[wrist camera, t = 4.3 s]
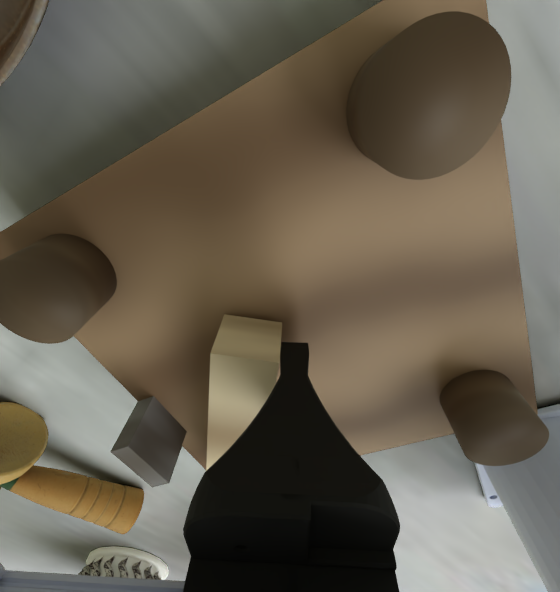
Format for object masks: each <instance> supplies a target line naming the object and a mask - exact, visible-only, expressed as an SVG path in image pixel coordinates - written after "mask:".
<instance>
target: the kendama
mask: <svg viewBox="0 0 560 592" xmlns="http://www.w3.org/2000/svg"><path fill="white" fill-rule="evenodd" d="M47 441H48V429H47V426H46V424H45V422H44V420H43V419H42V417H41V416H40V415H38V414H37V413H35V412H34V411H32V410H30V409H28V408H27V407H25V406H22V405H20V404H18V403H14V402H0V489H1V487H3V488H5V489H7V490H9V491H11V492H13V493H15V494H18V495H20V496H22V497H24V498H26V499H29V500H31V501H33V502H35V503H38V504H40V505H43V506H45V507H48V508H51V509H53V510H56V511H59V512H62V513H66V514H67V513H68V514H69V515H71V516H74V517H77V518H81V519H83V520H85V521H89V522H93V523H94V524H97V525H100V526H104V527H105V528H108V529H110V530H112V531H115V532H117V533H120V534H125V533H127V532H128V531H129V530H130V529H131V527H132V526H133V525H134V523H135V521H136V520H137V517H138V515H139V513H140V511H141V508H142V504H143V500H144V491H143V490H142V489H140V488H135V487H130V486H125V485H124V486H123V485H121V484H117V483H111V482H108V481H104V480H99V479H96V478H92V477H87V476H84V475H80V474H76V473H72V472H68V471H63V470H58V469H53V468H46V467H40V466H33V464H34V463H35V462H36V461H37V460H38V459H39V458H40V456H41V455H42V454H43V452H44V450H45V448H46V446H47Z"/></svg>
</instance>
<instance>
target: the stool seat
mask: <svg viewBox="0 0 560 592" xmlns="http://www.w3.org/2000/svg"><path fill="white" fill-rule="evenodd" d="M510 86H511V65H510V59H509V55H508V52H507V49H506V46H505V44H504V42H503V40H502V38H501V36H500V35H499V34H498V32H497V31H496V30H495V29H494V28H493V27H492V26H491V25H490V24H489V20H488V12H487V4H486V0H383V1H381V2H379V3H378V4H376V5H374V6H373V7H371V8H369V9H368V10H366V11H365V12H363V13H361V14H360V15H358V16H356V17H355V18H353V19H351V20H350V21H348V22H346V23H345V24H343V25H341V26H340V27H338V28H336V29H335V30H333V31H331V32H330V33H328V34H327V35H325V36H323V37H322V38H320V39H318V40H317V41H315V42H313V43H312V44H310V45H308V46H307V47H305V48H303V49H302V50H300V51H298V52H297V53H295V54H294V55H292V56H290V57H289V58H287V59H285V60H284V61H282V62H280V63H279V64H277V65H275V66H274V67H272V68H270V69H269V70H267V71H265V72H264V73H262V74H261V75H259V76H257V77H256V78H254V79H252V80H251V81H249V82H247V83H246V84H244V85H242V86H241V87H239V88H237V89H236V90H234V91H232V92H231V93H229V94H227V95H226V96H224V97H223V98H221V99H219V100H218V101H216V102H214V103H213V104H211V105H209V106H208V107H206V108H204V109H203V110H201V111H199V112H198V113H196V114H194V115H193V116H191V117H190V118H188V119H186V120H185V121H183V122H181V123H180V124H178V125H176V126H175V127H173V128H171V129H170V130H168V131H166V132H165V133H163V134H161V135H160V136H158V137H156V138H155V139H153V140H152V141H150V142H148V143H147V144H145V145H143V146H142V147H140V148H138V149H137V150H135V151H133V152H132V153H130V154H128V155H127V156H125V157H123V158H122V159H120V160H119V161H117V162H115V163H114V164H112V165H110V166H109V167H107V168H105V169H104V170H102V171H100V172H99V173H97V174H95V175H94V176H92V177H90V178H89V179H87V180H86V181H84V182H82V183H81V184H79V185H77V186H76V187H74V188H72V189H71V190H69V191H67V192H66V193H64V194H62V195H61V196H59V197H57V198H56V199H54V200H52V201H51V202H49V203H48V204H46V205H44V206H43V207H41V208H39V209H38V210H36V211H34V212H33V213H31V214H29V215H28V216H26V217H24V218H23V219H21V220H19V221H18V222H16V223H15V224H13V225H11V226H10V227H8V228H6V229H5V230H3V231H1V232H0V323H1V324H2V325H3V326H4V327H6V328H7V329H9V330H10V331H12V332H13V333H15V334H17V335H19V336H21V337H23V338H26V339H29V340H32V341H35V342H40V343H60V342H63V341H66V340H68V339H70V338H71V337H73V336H74V337H75V338H76V339H77V340H78V341H79V342H80V343H81V344H82V345H83V346H84V347H85V348H86V349H87V350H88V351H89V352H90V353H91V354H92V355H93V356H94V357H95V358H96V359H97V360H98V361H99V362H100V363H101V364H102V365H103V366H104V367H105V368H106V369H107V370H108V371H109V372H110V373H111V374H112V375H113V376H114V377H115V378H116V379H117V380H118V381H119V382H120V383H121V384H122V385H123V386H124V387H125V388H126V389H127V390H128V391H129V392H130V393H131V395H132V396H133V397H134V398H135V399H136V400H137V401H138V403H137V404H136V406H135V408H134V410H133V412H132V413H131V415H130V417H129V419H128V421H127V423H126V424H125V426H124V428H123V430H122V432H121V434H120V435H119V437H118V439H117V441H116V443H115V445H114V446H113V448H112V450H111V453H113V454H114V455H115V456H116V457H117V458H118V459H120V460H121V461H122V462H123V463H124V464H126V465H127V466H128V467H129V468H130V469H131V470H133V471H134V472H135V473H136V474H137V475H138V476H140V477H141V478H142V479H143V480H144V481H146V482H147V483H148V484H149V485H150V486H151V487H155V486H159V485H163V484H167V483H169V482H170V479H171V476H172V473H173V470H174V467H175V464H176V462H177V459H178V456H179V453H180V450H181V447H182V446H183V447H184V448H185V449H186V450H187V451H188V452H189V453H190V454H191V455H192V456H193V457H194V458H195V459H196V460H197V461H198V462H199V463H200V464H201V465H202V466H203V467H204V468H205V469H206V463H207V435H208V407H209V379H210V353H211V350H212V347H213V345H214V342H215V339H216V336H217V333H218V331H219V328H220V325H221V322H222V320H223V317H224V314H226V315H233V316H240V317H247V318H254V319H261V320H268V321H275V322H282V335H281V342H301V343H308V346H309V369H308V377H309V379H310V381H311V383H312V385H313V388H314V390H315V391H316V393H317V395H318V397H319V399H320V401H321V403H322V404H323V406H324V408H325V409H326V411H327V413H328V414H329V416H330V417H331V419H332V420H333V422H334V423H335V425H336V426H337V428H338V429H339V430H340V432H341V433H342V434H343V435H344V437H345V438H346V439H347V441H348V442H349V443H350V445H351V446H352V447H353V448H354V449H355V451H356V452H357V453H358V454H359V455H364V454H368V453H372V452H377V451H381V450H385V449H390V448H394V447H398V446H403V445H407V444H411V443H416V442H420V441H424V440H428V439H433V438H437V437H441V436H446V435H450V434H454V433H455V435H456V438H457V440H458V442H459V444H460V446H461V448H462V450H463V452H464V454H465V456H466V457H467V458H468V459H469V460H471V461H473V462H475V463H477V464H481V465H486V466H504V465H510V464H514V463H518V462H521V461H523V460H526V459H528V458H530V457H532V456H533V455H535V454H536V453H538V452H539V451H540V450H541V449H542V448H543V447H544V446H545V445H546V443H547V441H548V439H549V430H548V428H547V427H546V425H545V424H544V423H543V422H542V420H541V419H540V418H539V416H538V415H537V414H538V411H537V403H536V395H535V387H534V379H533V371H532V363H531V355H530V347H529V339H528V331H527V323H526V315H525V307H524V299H523V291H522V283H521V275H520V267H519V259H518V251H517V243H516V235H515V227H514V219H513V211H512V204H511V196H510V188H509V180H508V172H507V164H506V156H505V148H504V140H503V132H502V124H501V118H502V116H503V113H504V111H505V108H506V105H507V102H508V98H509V93H510ZM279 377H280V363H279V368H278V373H277V379H276V383H277V381H278V379H279Z"/></svg>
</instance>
